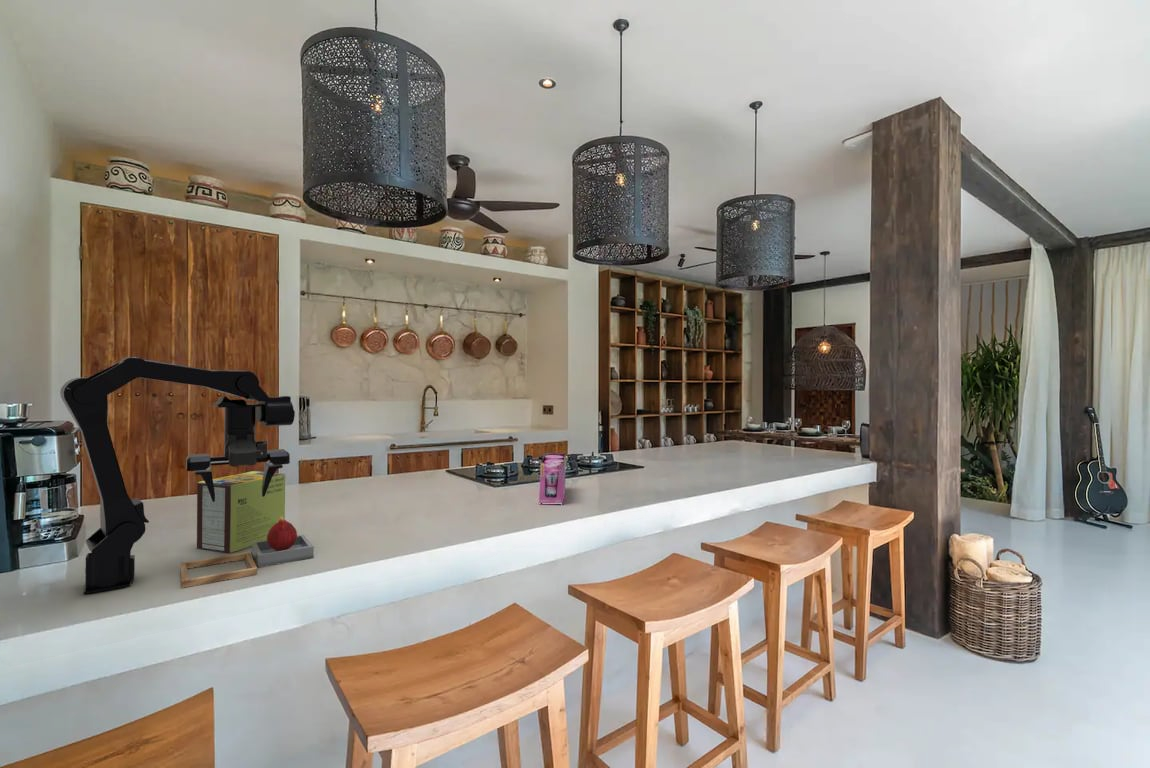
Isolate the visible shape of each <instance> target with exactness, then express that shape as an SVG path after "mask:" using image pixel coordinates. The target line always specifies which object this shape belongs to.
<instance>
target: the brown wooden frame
mask: <svg viewBox="0 0 1150 768" xmlns="http://www.w3.org/2000/svg"><path fill="white" fill-rule="evenodd" d="M244 560H245V561H246V564H247V566H248V568H244V569H239V570H234V571H233V570H232V571H227V572H223V573H222V572H221V573H216V574H210V575H203V576H199V577H198V576H197V577H193V578H188V569H187V568H190V569H195V568H194V567H196V568H200V567H201V566H202V567H206V566H207V565H208V566H212V565H213V564H214V565H219V564H218V563H220V564H225V563H224V562H226V563H230V562H229V561H232V562H238V561H244ZM256 574H257V575H258V567H257V565H256V562H255V560H254V558H253V556H252V552H250V551H248V552H241V553H234V554H229V555H228V554H227V555H223V556H216V557H210V558H209V557H208V558H204V559H198V560H191V561H184V562H180V579H181V580H180V582H181V589H185V588H190V586H191V587H195V586H202V585H207V584H211V583H212V582H213V583H218V582H223V580H224V581H228V580H227V579H229V580H234V578H235V579H240V578H245V576H246V577H251V576H254V575H255V576H257V575H256ZM217 581H218V582H217ZM213 583H212V584H213ZM201 584H202V585H201ZM184 587H185V588H184Z"/></svg>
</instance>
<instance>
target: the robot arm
mask: <svg viewBox="0 0 1150 768" xmlns="http://www.w3.org/2000/svg"><path fill="white" fill-rule="evenodd" d="M139 378H141V379H148V380H152V381H153V380H155V381H159V382H160V381H161V382H169V383H177V384H182V385H191V386H198V387H203V388H207V389H209V390H213V391H216V392H219V393H221V394H226V395H229V396H232V397H241V398H242V399H240V398H239V399H238V398H237V399H232V398H231V399H229V398H228V397H227V396H224V395H222V396H221V397H220V398H219V399H218V400H217V401H216V402H214V403H213V406H212V407H214V408H220V409H221V408H224V427H223V428H224V430H223V431H224V433H223V436H224V437H223V439H224V440H223V447H224V448H223V454H224V455H223V456H220V455H219V456H211V455H210V453H208V452H207V453H193V454H191V453H190V454H189V455H188V456H186V459H185V461H186V462H185V465H186V467H185V469H186V472H193V473H194V475H196V476H197V475H200V476H201V478H202V479H203V480H202V481H205V483H206V485H207V488H208V490H209V493H210V496H211V499H212V501H213V502H215V491H214V484H213V479H214V478H213V471H212V468H211V466H213V467H214V466H224V465H225V466H226V465H229V466H230V467H232V468H233V467H239V466H254V465H256V464H257V463H264V465H263V466H264V467H263V472H264V474H263V483H262V496H263V497H264V496H265V494H266V492H267V489H268V486H269V484H270V481H271V479H272V477H273V475H274V473H276V472H277V471H278V469H282V468H283V467H284V466H283V465H289V464H290V461H291V460H290V459H291V458H290V457H291V456H290V453H289V451H286V450H285V449H284V448H278V449H268V442H267V441H266V440H258V441H256V422H258V423H260V425H261V426H263V427H278V426H279V427H280V426H281V427H282V426H291V425H293V424H294V421H295V417H296V416H295V415H296V411H295V410H294V405H293V403H292V399H291V398H292V397H291V396H289V395H281V396H269V395H268V394H267V393H266V392H265V391H264V389H263V388H262V387H261V386H260V381H259V380H260V379H259V377H258V376H257V375H256V374H255V373H254V372H252V371H250V370H245V369H243V370H239V369H238V370H237V369H236V370H234V369H233V370H232V369H231V370H230V369H229V370H228V369H221V370H220V369H204V368H199V367H193V366H186V365H182V364H181V365H180V364H175V363H168V362H162V361H156V360H149V359H143V358H141V357H138V356H127V357H124V358H122V359H121V360H120V361H119V362H117V363H115V364H113V365H110V366H109V367H106V368H105V369H102V370H100V371H98V372H96V373H94V374H92V375H90V376H88V377H75V378H71V379H69V380H67V381H66V382H65V383H64V384H62V386H61V388H60V391H59V392H60V393H59V394H60V398H61V400H62V402H63V404H64V405H65V407H66V409H67V411H68V412H69V414H70V416H71V417H72V419H73V420H74V422H75V423H76V425H77V427H78V429H79V430H80V435H81V438H82V441H83V444H84V448H85V451H86V455H87V457H88V461H89V465H90V468H91V471H92V476H93V477H94V482H95V485H96V488H97V492H98V495H99V498H100V504H99V505H100V506H99V520H100V521H99V522H100V527H99V528H97V530H96V531H95V532H94V533H92V534H91V535H90V536H89V537H88V538H87V539H85V541H84V542H85V544H86V546H87V547H88V549H89V551H90V552H88V553H87V554H86V556H85V568H84V569H85V573H84V574H85V578H84V579H85V581H84V583H85V585H84V589H83V593H82V594H83V595H85V594H93V593H98V592H103V591H104V592H105V591H110V590H117V589H120V588H121V589H122V588H126V587H127V588H128V587H130V586H131V584H132V581H134V580H135V576H136V556H135V554H132V548H133V547H134V544H135V543H137V542H138V541H139V540H140V539H142V537H143V535H144V534H145V533H146V524H148V523H149V522H150V521H149V520H148V519H147V517H146V515H145V508H144V507H145V505H144V502H143V501H142V500H141V499H139V498H138V497H134V498H132V499H131V497H130V496H129V494H128V492H127V488H126V485H125V481H124V479H123V475H122V471H121V468H120V465H119V461H118V457H117V453H116V451H115V447H114V444H113V440H112V437H111V433H110V429H109V426H108V417H109V416H108V415H109V414H108V413H109V404H108V395H110V394H111V393H113V392H116V391H118V389H120V388H122V387H124V386H125V385H127V384H128V383H131V382H133V380H135V379H139ZM246 400H247V401H254V402H257V403H247V402H246ZM116 588H117V589H116Z"/></svg>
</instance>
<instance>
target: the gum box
mask: <svg viewBox="0 0 1150 768" xmlns="http://www.w3.org/2000/svg"><path fill="white" fill-rule="evenodd" d="M566 457H567V454H566V453H550V452H549V453H544V455H543V457H542V460H541V461H540V464H539V465H540V467H539V470H540V471H539V497H538V504H539V503H564V500H563V499H565V495H564V494H566V465H567V463H566V461H567V460H566V459H567V458H566Z"/></svg>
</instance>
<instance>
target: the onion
mask: <svg viewBox="0 0 1150 768" xmlns="http://www.w3.org/2000/svg"><path fill="white" fill-rule="evenodd" d="M297 536H298V531H297V530H296V528H295V525H293V524H292V523H291V522H289V521H287V520H286V519H285V520H284V519H283V517H280V519H279V522H278V523H276V524H275V525H274V526H272V528H271V529H270V530H269V532H268V535H267V542H268V544H269V545H270V547H271V548H273V549H274V550H276V551H282V550H287V549H289V548H290V547H291V546H292V545H293V544H294V543H295V541H296V538H297Z"/></svg>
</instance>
